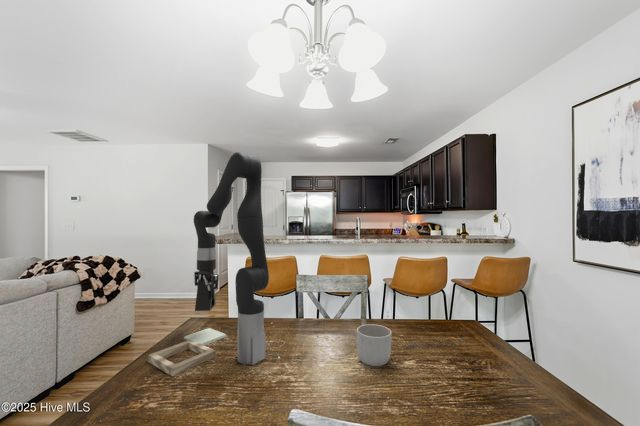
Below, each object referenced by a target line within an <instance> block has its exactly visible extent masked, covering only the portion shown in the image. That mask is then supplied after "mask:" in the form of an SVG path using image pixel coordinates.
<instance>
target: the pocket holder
mask: <svg viewBox="0 0 640 426" xmlns="http://www.w3.org/2000/svg"><path fill="white" fill-rule="evenodd" d="M187 350H190V351H191V352H194V353H196V355H194V356H191V357H190V358H187V359H184V360H182V361H179V362H177V363H174V362H172V361H170V360H168V359H167V358H169V357H172V356H174V355H176V354H179V353H182V352H184V351H187ZM215 358H216V350H215V349H213V348H211V347H208V346H206V345H202V344H200V343H197V342H195V341H193V340H188V341H187V340H185V341H183V342H182V341H181V342H180V343H176V344H174V345H172V346H169V347H166V348H163V349H161V350H157V351H154V352H151V353H150V354H148V355H147V362H148V363H149V364H151V365H152V366H154V367H155V368H157V369H159V370H161V371H162V372H164V373H166V374H167V375H169V376H170V377H174V376H177V375H179V374H181V373H183V372H186V371H187V370H190V369H193V368H195V367H196V366H199V365H202V364H203V363H206V362H208V361H209V360H212V359H215Z"/></svg>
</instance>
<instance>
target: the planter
mask: <svg viewBox="0 0 640 426" xmlns="http://www.w3.org/2000/svg"><path fill="white" fill-rule="evenodd" d="M392 334H393V332H392V330H391V329H390V328H388V327H386V326H384V325H381V324H373V323H372V324H371V323H369V324H362V325H359V326H358V327H357V328H356V348H357V356H358V358H359V360H360V361H361V362H362V363H364V364H365V365H367V366H370V367H381V366H384V365H386V364H388V362H389V361H390V359H391V352H392Z"/></svg>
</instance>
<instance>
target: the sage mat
mask: <svg viewBox="0 0 640 426" xmlns="http://www.w3.org/2000/svg"><path fill="white" fill-rule="evenodd" d="M223 338H224V339H225V338H227V333H224V332H221V331H218V330H216V329H213V328H211V327H208V328H205V329H202V330H199V331H197V332H194V333H191V334H187V335H185V336H183V340H185V341H188V340H193V341H195V342H197V343H200V344H202V345H204V346H206V345H208V344H209V345H210V344H211V343H213V342H217V341H219V340H222V339H223Z"/></svg>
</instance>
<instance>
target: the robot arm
mask: <svg viewBox="0 0 640 426" xmlns="http://www.w3.org/2000/svg"><path fill="white" fill-rule="evenodd" d="M262 169H263V168H262V162H261V160H260V158H259V157H258V156H256V155H254V154H251V153H250V154H249V153H245V152H241V151H239V152H238V151H237V152H234V153H233V154H232V155H231V156H230V158H229V159H228V162H227V163H226V166H225V168H224V171H223V173H222V175H221V178H220V180H219V183H218V184H217V187H216V189H215V191H214V192H213V194H212V196H211V197H210V198H209V200H208V202H207V204H206V209H207V210H199V211H197V212H196V213H194V215H193V224H194V229H195V232H196V235H197V251H196V270H197V271H194V272H193V273H194V274H193V276H194V286H196V287H197V288H198V280H204V281H205V284H206V286H207V287H208V290H209V291H208V299H209V300H210V298H211V299H213V298H214V290H217V289H219V274H215V273H214V271H215V270H216V268H217V251H216V235H215V234H214V233H211V232H208V230H207V228H210V229H211V228H212V229H213V228H216V227H218V226H219V225H220V224H221V221H222V217H223V214H224V211H225V210H226V209H227V207H228V206H229V204H230V203H231V201H232V196H233V193H232V190H233V189H232V185H233V183H235V181H236V180H237V179H238V178H239V179H240V178H241V179H245V181H246V191H245V195H244V197H243V199H242V201H241V203H240V205H239V207H238V208H237V209H238V210H237V213H236V218H237V219H236V220H237V230H238V231H237V232H238V234H239V236H240V238H241V240H242V241H243V243H244V244H245V246H246V248H247V249H248V251H249V254H250V260H251V266H246V267H240V268H239V269H238V270H237V272H236V275H235V301H236V306H237V344H236V345H237V352H236V353H237V362H238V363H240V364H243V365H251V366H252V365H256V364H257V363H259V362H261V361H264V360H265V359H266V343H267V342H266V336H267V335H266V331H264V326H265V324H264V322H265V315H264V314H265V304H264V302H263V301H262V300H260V299H255V295H254V293H255V292H259V291H263V290H265V289H266V288H267V287H268V285H269V281H270V280H269V279H270V278H269V277H270V273H269V267H268V261H267V256H266V247H265V246H266V245H265V238H264V236H265V235H264V218H263V216H264V215H263V210H262V208H263V207H262V171H263V170H262ZM211 280H212V281H211ZM210 281H211V283H208V282H210ZM210 285H211V287H210Z"/></svg>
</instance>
